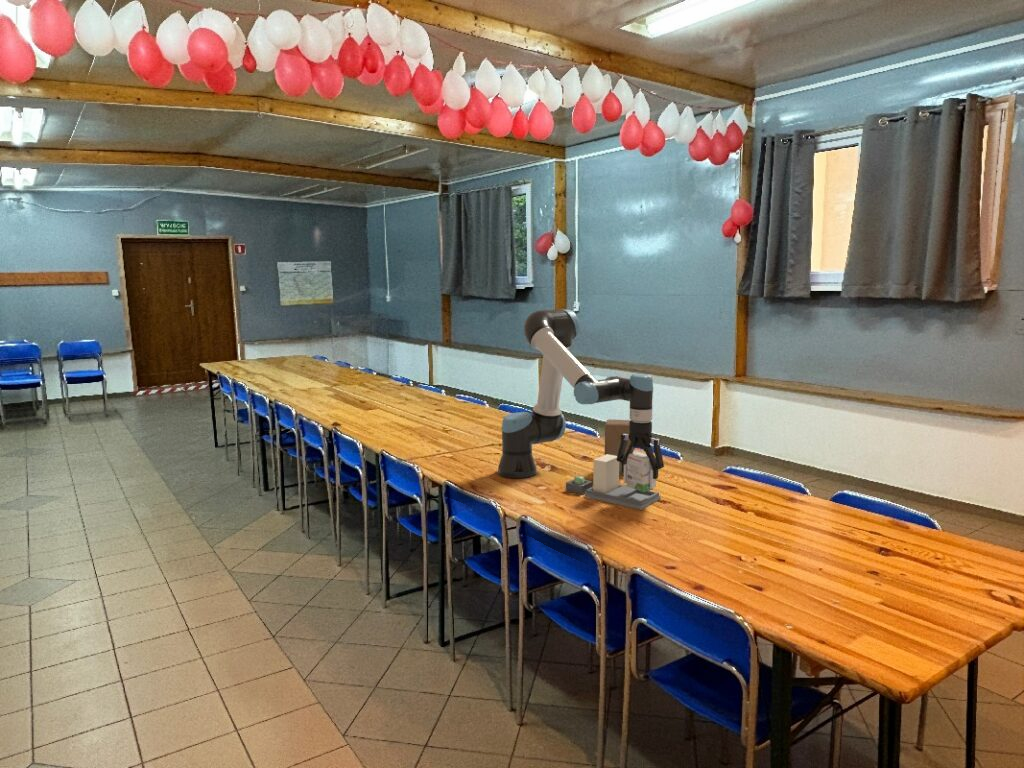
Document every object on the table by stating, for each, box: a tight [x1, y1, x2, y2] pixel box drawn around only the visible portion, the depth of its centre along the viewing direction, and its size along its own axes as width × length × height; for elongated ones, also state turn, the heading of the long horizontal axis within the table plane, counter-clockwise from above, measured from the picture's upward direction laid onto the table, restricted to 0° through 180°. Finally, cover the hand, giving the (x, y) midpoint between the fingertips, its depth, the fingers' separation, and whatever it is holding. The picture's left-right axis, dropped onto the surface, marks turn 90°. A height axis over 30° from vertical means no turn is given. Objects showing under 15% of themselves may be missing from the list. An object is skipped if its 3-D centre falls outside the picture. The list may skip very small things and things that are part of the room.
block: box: [604, 418, 631, 476], centre depth 264 cm, size 10×10×20 cm
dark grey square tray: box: [565, 479, 593, 495], centre depth 243 cm, size 7×7×3 cm
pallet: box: [584, 483, 661, 511], centre depth 234 cm, size 22×14×2 cm, turn 51°
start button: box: [573, 475, 585, 485], centre depth 243 cm, size 4×4×4 cm
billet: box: [592, 454, 620, 493], centre depth 237 cm, size 5×9×12 cm, turn 141°
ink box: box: [626, 451, 654, 492], centre depth 229 cm, size 8×5×12 cm, turn 30°
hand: (639, 485), depth 229 cm, fingers closed on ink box, 9 cm apart
